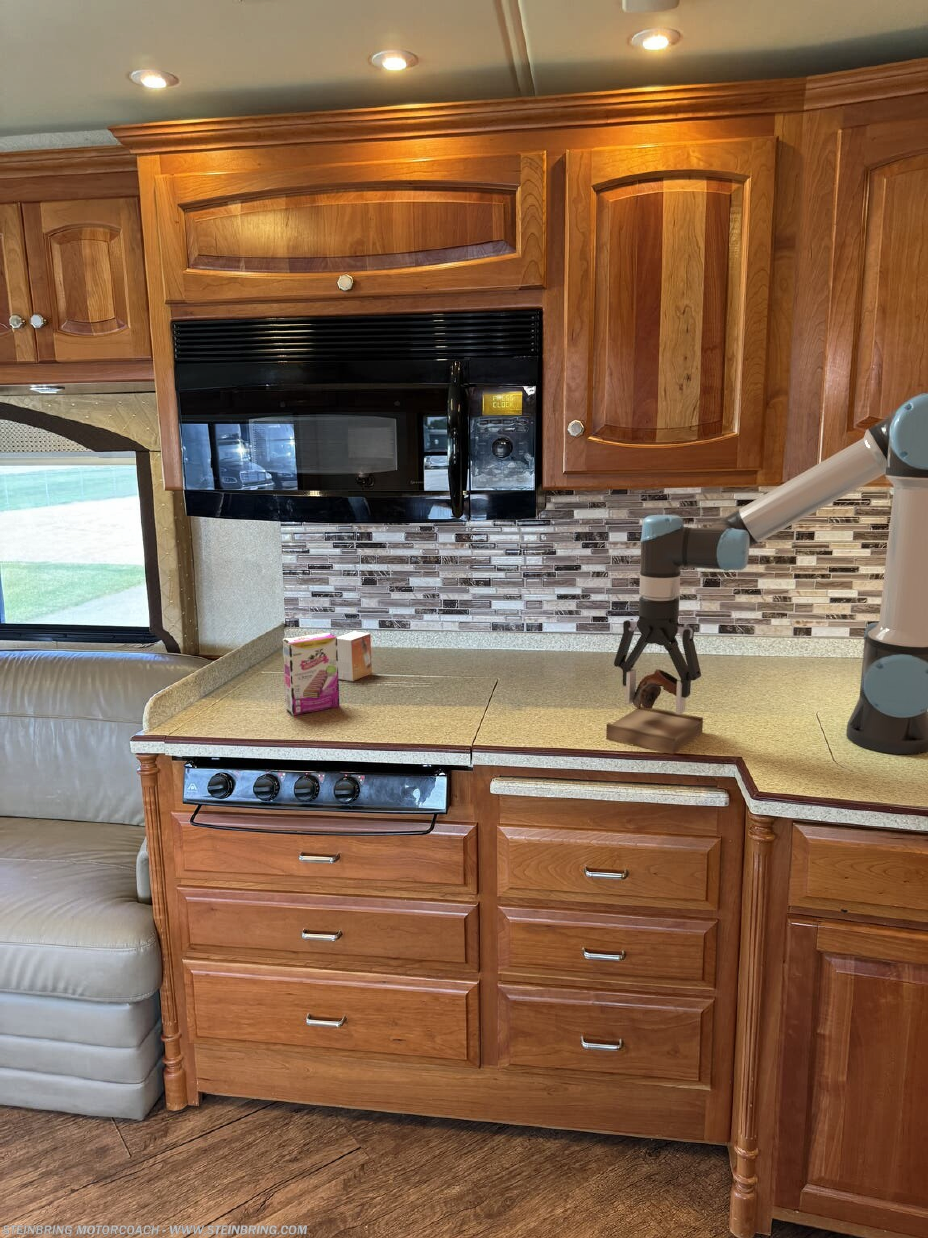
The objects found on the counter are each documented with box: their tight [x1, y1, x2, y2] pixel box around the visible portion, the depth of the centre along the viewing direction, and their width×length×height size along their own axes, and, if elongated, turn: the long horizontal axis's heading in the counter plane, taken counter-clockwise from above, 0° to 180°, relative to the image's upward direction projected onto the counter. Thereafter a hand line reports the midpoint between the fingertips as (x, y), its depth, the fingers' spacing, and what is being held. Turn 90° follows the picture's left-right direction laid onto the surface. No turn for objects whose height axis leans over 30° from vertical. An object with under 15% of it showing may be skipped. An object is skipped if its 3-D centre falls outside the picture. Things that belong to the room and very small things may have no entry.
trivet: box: [605, 705, 704, 755], centre depth 173 cm, size 14×14×3 cm
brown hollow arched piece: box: [632, 669, 680, 709], centre depth 171 cm, size 12×10×8 cm
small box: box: [336, 630, 373, 682], centre depth 216 cm, size 8×6×10 cm
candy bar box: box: [281, 632, 340, 716], centre depth 192 cm, size 11×5×16 cm, turn 121°
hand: (654, 707), depth 172 cm, fingers closed on brown hollow arched piece, 10 cm apart
